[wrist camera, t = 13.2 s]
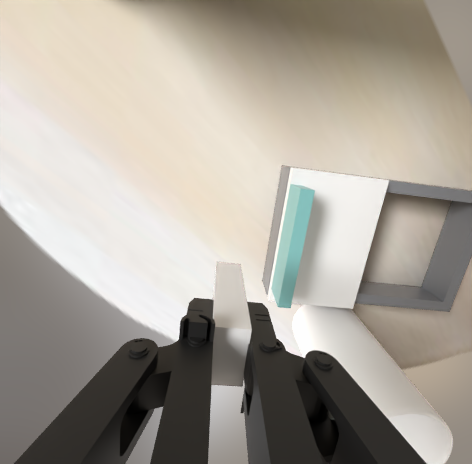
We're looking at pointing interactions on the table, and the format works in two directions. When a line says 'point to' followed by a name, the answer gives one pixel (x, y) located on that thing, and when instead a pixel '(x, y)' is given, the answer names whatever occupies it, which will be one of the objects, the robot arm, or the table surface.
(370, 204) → the cover
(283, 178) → the grey shallow rectangular tray
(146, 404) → the robot arm
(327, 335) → the cup
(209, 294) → the table surface
